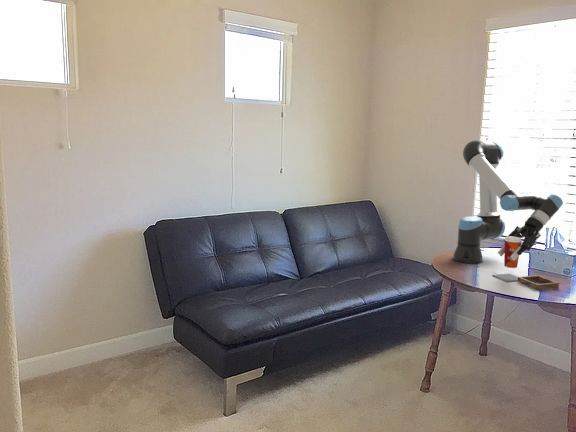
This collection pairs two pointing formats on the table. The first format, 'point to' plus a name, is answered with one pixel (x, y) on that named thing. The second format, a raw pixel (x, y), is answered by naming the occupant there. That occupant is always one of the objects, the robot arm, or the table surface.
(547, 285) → the brown square open frame
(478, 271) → the table surface
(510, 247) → the paper cup
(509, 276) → the mat
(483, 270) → the table surface
